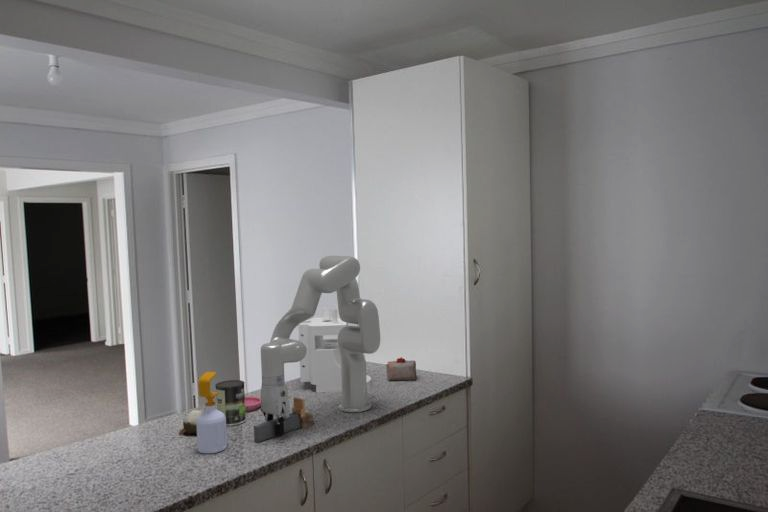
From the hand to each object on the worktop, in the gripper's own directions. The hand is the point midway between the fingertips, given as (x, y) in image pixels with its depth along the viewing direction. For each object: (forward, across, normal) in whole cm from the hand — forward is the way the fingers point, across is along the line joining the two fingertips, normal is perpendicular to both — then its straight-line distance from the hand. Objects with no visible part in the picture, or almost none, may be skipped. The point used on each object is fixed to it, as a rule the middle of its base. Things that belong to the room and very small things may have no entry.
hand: (275, 433), depth 204 cm
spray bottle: (+1, +7, +20) cm, 21 cm away
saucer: (+1, +34, -13) cm, 36 cm away
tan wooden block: (-3, 0, -11) cm, 11 cm away
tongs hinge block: (+1, 0, -13) cm, 13 cm away
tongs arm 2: (+1, -1, -1) cm, 1 cm away
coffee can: (+1, +25, 0) cm, 25 cm away
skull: (+1, +26, +14) cm, 29 cm away
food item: (+1, +11, -81) cm, 82 cm away
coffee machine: (+1, +29, -58) cm, 65 cm away
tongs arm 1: (+1, +1, -1) cm, 1 cm away
